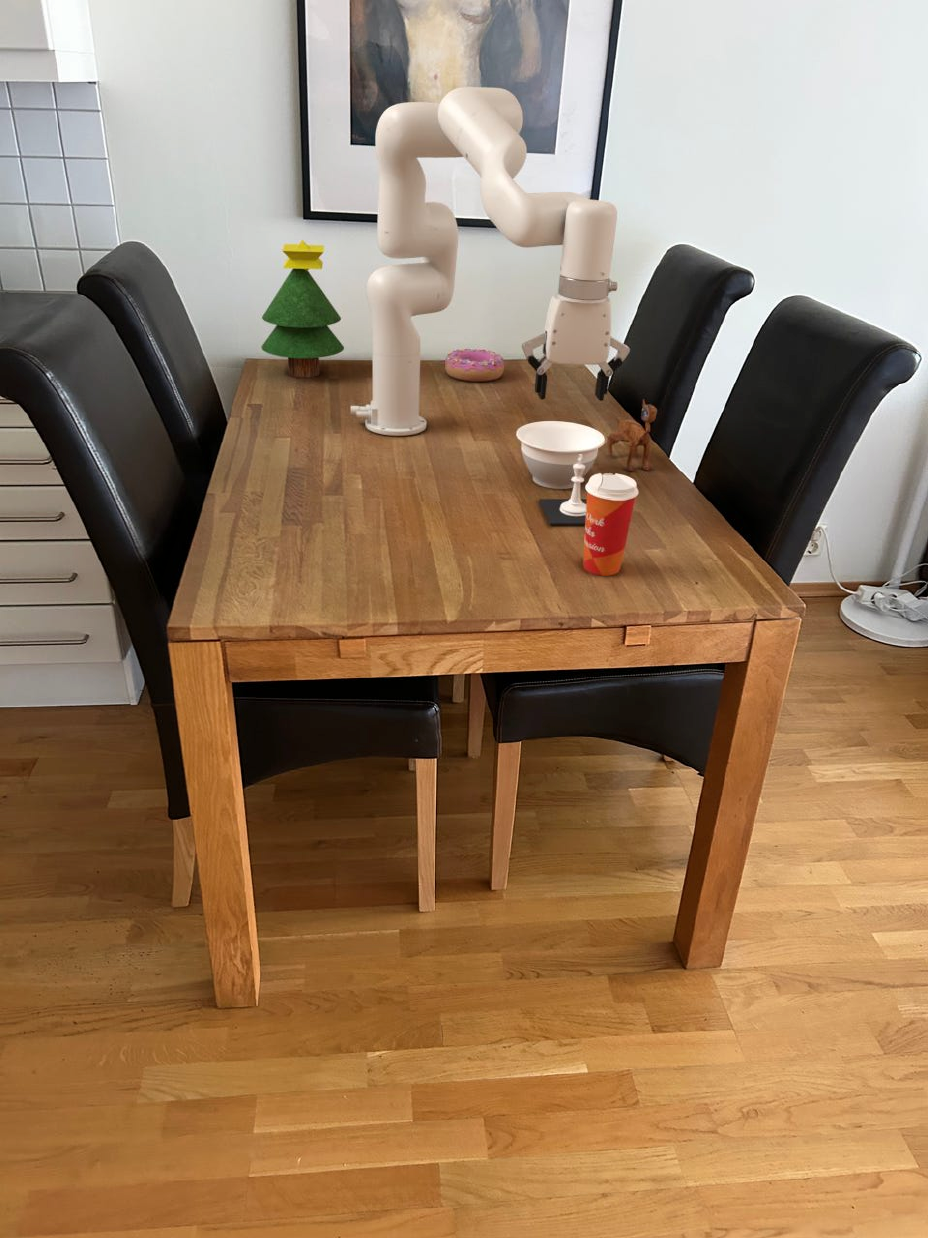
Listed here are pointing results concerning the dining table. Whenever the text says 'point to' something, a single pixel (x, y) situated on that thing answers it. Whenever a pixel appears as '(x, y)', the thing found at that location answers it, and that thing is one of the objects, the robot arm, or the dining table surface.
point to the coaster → (560, 513)
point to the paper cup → (607, 521)
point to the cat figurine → (635, 436)
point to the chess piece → (575, 493)
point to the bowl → (558, 451)
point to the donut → (474, 365)
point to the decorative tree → (302, 315)
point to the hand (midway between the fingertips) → (570, 397)
